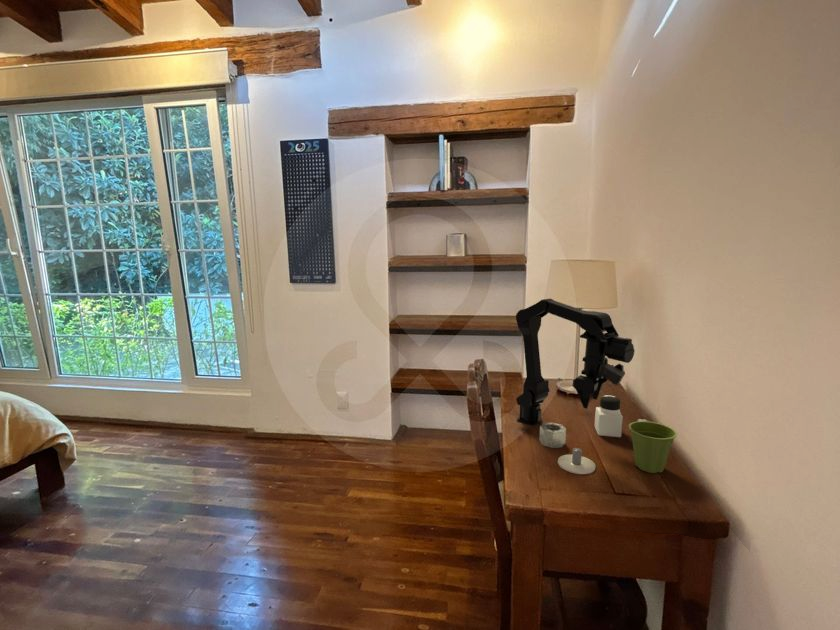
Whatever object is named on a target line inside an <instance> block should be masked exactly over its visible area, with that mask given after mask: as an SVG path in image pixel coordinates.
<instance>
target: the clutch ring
mask: <svg viewBox="0 0 840 630" xmlns="http://www.w3.org/2000/svg"><path fill="white" fill-rule="evenodd" d="M566 435H567V428H566V427H565V426H564V425H563V424H561V423H556V422H543V423H541V425H540V426H539V438H538V439H539V442H540V444H541V445H542V446H544V447H548V448H550V449H557V448H559V449H561V448H563V447H564V446H565V445H566V437H567V436H566Z"/></svg>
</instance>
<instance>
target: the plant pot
mask: <svg viewBox="0 0 840 630" xmlns="http://www.w3.org/2000/svg"><path fill="white" fill-rule="evenodd" d="M628 428H629V430H630V434H631V438H632V445H633V446H632V447H633V455H634V465H635V466H636V467H637V468H639V470H641V471H643V472H646V473H651V474H655V473H662V472H664V470H665V467H666V463H667V460H668V457H669V453H670V449H671V446H672V445H673V442H674V439H675V438H677V435H678V432H677V431H676V430H675V429H673V428H672V427H670V426H668V425H665V424H662V423H658V422H656V421H655V422H654V421H649V420H647V421H638V420H637V421H634V422H630V423H629V424H628Z"/></svg>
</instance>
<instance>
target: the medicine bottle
mask: <svg viewBox="0 0 840 630" xmlns="http://www.w3.org/2000/svg"><path fill="white" fill-rule="evenodd" d="M620 407H621V400H620V398H618V397H617V396H614V395H602V396H601V397H600V399H599V406H596V407H595V415H594V428H595V430H596V433H597V435H598V436H603V437H613V438H621V437H622V435H623V434H622V433H623V421H624V416H623V415H622V413H621V411H620V409H621V408H620Z"/></svg>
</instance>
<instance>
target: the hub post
mask: <svg viewBox="0 0 840 630" xmlns="http://www.w3.org/2000/svg"><path fill="white" fill-rule="evenodd" d="M582 454H583V450H582V449H581V448H579V447H573V448H572V454H564V455H563V454H562V455H561V456H559V457H558V459H557V465H558V466H559V467H560V468H561V469H562V470H563V471H566V472H568V473H571V474H575V475H590V474H592V473H594V472H595V470H596V464H595V463H594V461H593V460H591V459H589V458H588V457H585V456H582Z"/></svg>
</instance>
